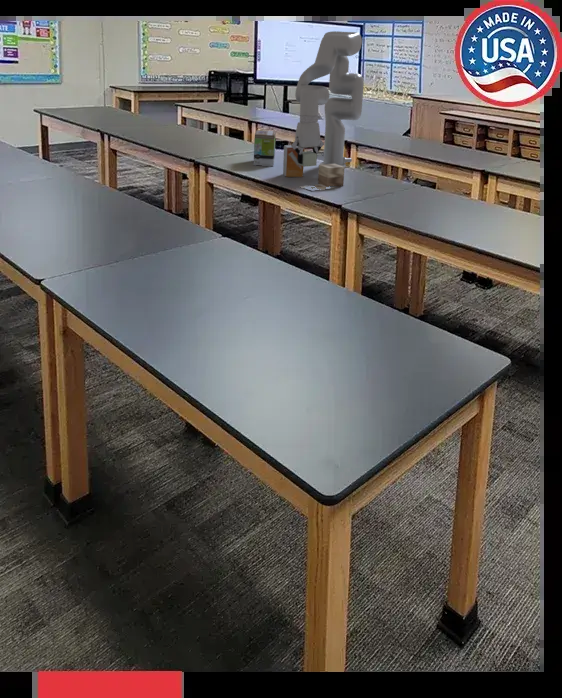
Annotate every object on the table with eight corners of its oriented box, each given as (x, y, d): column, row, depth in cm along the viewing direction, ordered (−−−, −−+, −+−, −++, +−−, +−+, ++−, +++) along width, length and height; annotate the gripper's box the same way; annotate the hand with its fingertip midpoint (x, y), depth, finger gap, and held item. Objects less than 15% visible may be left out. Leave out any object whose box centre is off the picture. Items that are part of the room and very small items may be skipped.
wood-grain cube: (333, 182, 297) (335, 163, 294) (343, 185, 291) (344, 167, 287) (317, 183, 294) (319, 164, 290) (327, 187, 287) (328, 168, 284)
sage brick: (309, 162, 296) (310, 151, 294) (316, 165, 292) (316, 153, 289) (297, 163, 294) (298, 152, 292) (304, 166, 289) (304, 154, 287)
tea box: (274, 166, 325) (275, 134, 319) (253, 165, 325) (253, 134, 319) (274, 161, 339) (275, 130, 332) (254, 160, 339) (255, 129, 332)
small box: (285, 177, 303) (287, 147, 298) (282, 174, 309) (283, 145, 303) (303, 177, 305) (304, 147, 299) (299, 174, 311) (301, 144, 305)
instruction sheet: (321, 184, 292) (321, 183, 292) (334, 188, 285) (334, 188, 285) (299, 187, 285) (299, 186, 285) (311, 191, 279) (311, 190, 279)
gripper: (322, 117, 291) (320, 159, 299) (286, 119, 284) (285, 162, 292) (330, 119, 285) (328, 163, 293) (294, 121, 278) (293, 166, 286)
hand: (307, 162), depth 292 cm, fingers closed on sage brick, 6 cm apart
